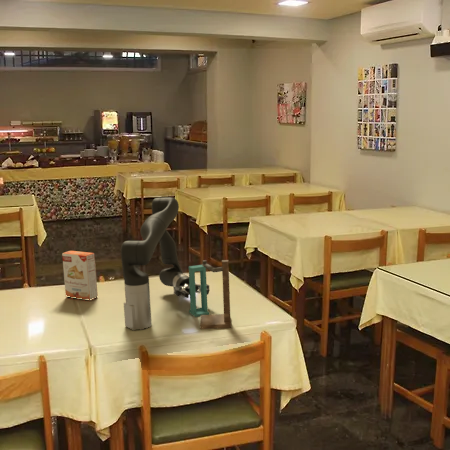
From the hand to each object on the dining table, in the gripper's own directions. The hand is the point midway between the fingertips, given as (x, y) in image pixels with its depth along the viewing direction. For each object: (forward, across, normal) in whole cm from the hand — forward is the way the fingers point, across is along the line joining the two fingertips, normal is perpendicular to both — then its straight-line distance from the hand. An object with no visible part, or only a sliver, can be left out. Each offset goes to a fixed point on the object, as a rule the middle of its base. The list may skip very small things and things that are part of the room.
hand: (197, 293), depth 242 cm
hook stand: (+14, +1, +8) cm, 17 cm away
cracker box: (-45, -38, +8) cm, 60 cm away
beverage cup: (-58, -11, +8) cm, 59 cm away
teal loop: (0, 0, +8) cm, 8 cm away
